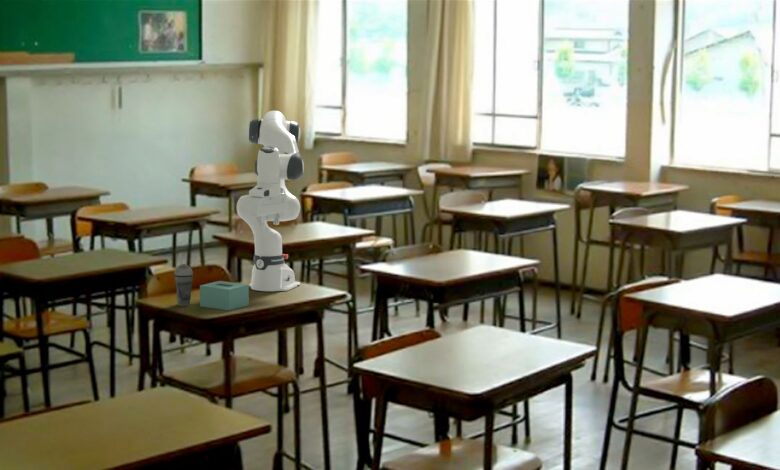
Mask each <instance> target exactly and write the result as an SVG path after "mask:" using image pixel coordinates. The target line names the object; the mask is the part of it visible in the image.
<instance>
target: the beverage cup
mask: <svg viewBox="0 0 780 470" xmlns="http://www.w3.org/2000/svg"><path fill="white" fill-rule="evenodd" d="M182 257H183V256H182V253H181V252H179V259H180V264H179V265H178V266H177V267H176V268H175V270H174V275H173V276H174V281H175V288H176V291H175V292H176V298H177V299H176V301H177V305H178V306H182V307H185V306H190V305H191V298H192V297H191V296H192V283H193V277H194V271H193V269H192V267H191V266H189V265H188V264H185V263H184V264H183V258H182Z"/></svg>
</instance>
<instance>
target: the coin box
mask: <svg viewBox="0 0 780 470" xmlns="http://www.w3.org/2000/svg"><path fill="white" fill-rule="evenodd" d="M249 287H250V286H249V284H247V283H240V282H232V281H231V282H230V281H225V280H217V281H213V282H209V283H205V284H201V285H199V306H200V307H203V308H210V309H215V310H224V311H232V310H237V309H240V308H243V307H247V306H249V305H250V303H249V301H250V299H249V294H250V293H249V291H250V290H249V289H250V288H249Z"/></svg>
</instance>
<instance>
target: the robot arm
mask: <svg viewBox="0 0 780 470" xmlns="http://www.w3.org/2000/svg"><path fill="white" fill-rule="evenodd" d="M286 119H287V118H286V117H285V115H284V114H283V113H282V111H281V112H280V111H279V110H270V111H268V112H266V113H265V115H264V116H263V117H262V118H254V119H251V121H249V124H248V126H247V128H246V135H247V138H248V140H249V142H250V143H252V144H255V145H262V146H263V147H260V148H259V149H258V153H257V158H256V159H255V160H254V174H255V175H256V176H257V177H256V178H257V181H256V185H255V186H254V187H253V188H251V189H249V191H248V194H245V195H241V196H240V197H239V199H238V200H237V203H236V212H237V214H238V216H239V218H240V219H242V220H243V221H244V222H245V223H246V224H247V225H248V226H249V227H250V229H251V231H252V235H253V240H254V254H253V264H254V265H253V266H252V271H251V280H250V281H251V282H250V283H249V284H248V285H249V287H250V289H251V290H252V291H259V292H287V291H290V290H292V289H295V288H296V287H298V286H297V285H299V286H301V285H300V284H301V281H296V278H295V272H294V270H293V269H292V268H291V267H289V266H288V265H287V264H286V262H285V260H288V258H289V254H285V253H283V237H282V235H281V233H280V232H278V231H277V230H276V229H274V228H272V227H269V225H268V222H273V223H272V224H273V225H274V226H278V225H280V222H287V221H292V220H293V221H294V220H296V219H297V218H298V217H299V215H300V212H301V203H300V201H299V199H298V198H297V196H295V195H293V194H292V193H291V192H290V191H289V190H288V189H287V187H286V182H285V181H286V180H291V181H297V180H299V179H300V178H301V177H302V176H303V174H304V170H305V164H304V160H303V158H302V156H301V151H300V150H299V145H298V143H299V141H300V139H301V136H302V135H301V133H302V131H301V128H300V124H299V123H298V122H297V121H293V120H290V121H289V120H286Z"/></svg>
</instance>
